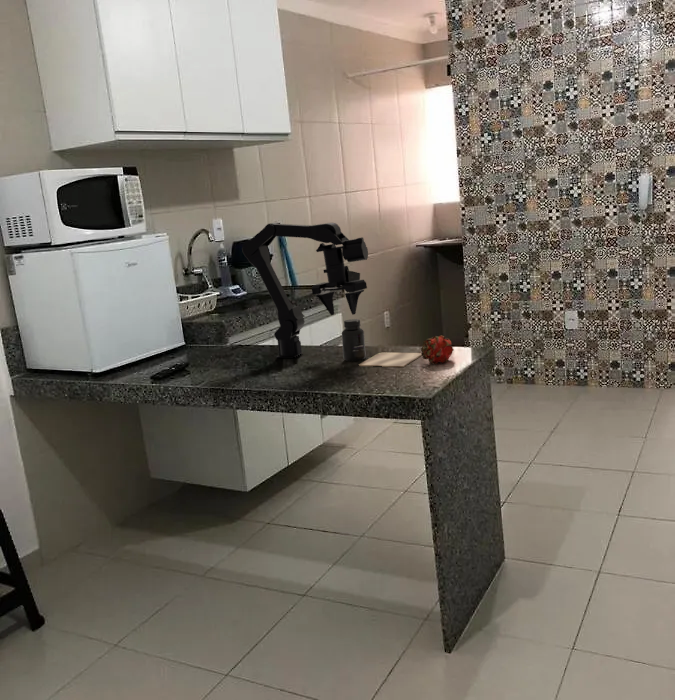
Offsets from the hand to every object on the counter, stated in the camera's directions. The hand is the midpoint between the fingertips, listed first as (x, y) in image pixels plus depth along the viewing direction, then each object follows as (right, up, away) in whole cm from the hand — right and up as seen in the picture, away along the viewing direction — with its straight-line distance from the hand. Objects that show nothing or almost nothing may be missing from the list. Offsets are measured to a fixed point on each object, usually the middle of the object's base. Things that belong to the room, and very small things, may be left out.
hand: (343, 314), depth 230 cm
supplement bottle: (+4, -14, -4) cm, 15 cm away
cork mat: (+14, -14, -10) cm, 22 cm away
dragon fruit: (+27, -15, -17) cm, 35 cm away
